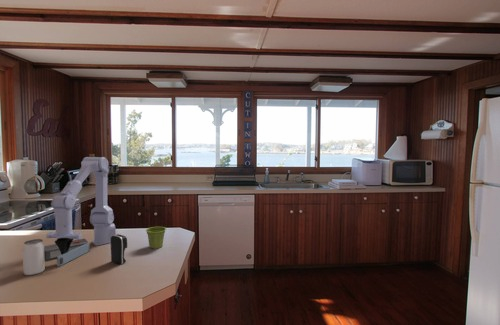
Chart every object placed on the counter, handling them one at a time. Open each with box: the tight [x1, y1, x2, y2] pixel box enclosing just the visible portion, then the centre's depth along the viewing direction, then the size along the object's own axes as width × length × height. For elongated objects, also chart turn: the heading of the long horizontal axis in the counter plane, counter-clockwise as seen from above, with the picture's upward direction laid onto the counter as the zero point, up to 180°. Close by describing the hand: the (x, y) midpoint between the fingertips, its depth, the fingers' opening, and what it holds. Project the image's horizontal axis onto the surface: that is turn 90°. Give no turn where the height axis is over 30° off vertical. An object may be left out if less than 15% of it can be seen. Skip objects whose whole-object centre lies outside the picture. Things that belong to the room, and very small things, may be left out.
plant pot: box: [145, 226, 167, 250], centre depth 132 cm, size 9×9×9 cm
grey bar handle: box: [56, 242, 91, 267], centre depth 117 cm, size 17×2×4 cm, turn 171°
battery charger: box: [110, 233, 128, 265], centre depth 114 cm, size 7×4×11 cm, turn 60°
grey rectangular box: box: [44, 238, 89, 261], centre depth 123 cm, size 17×8×4 cm, turn 132°
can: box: [22, 238, 46, 276], centre depth 104 cm, size 6×6×12 cm
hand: (64, 255), depth 114 cm, fingers closed
